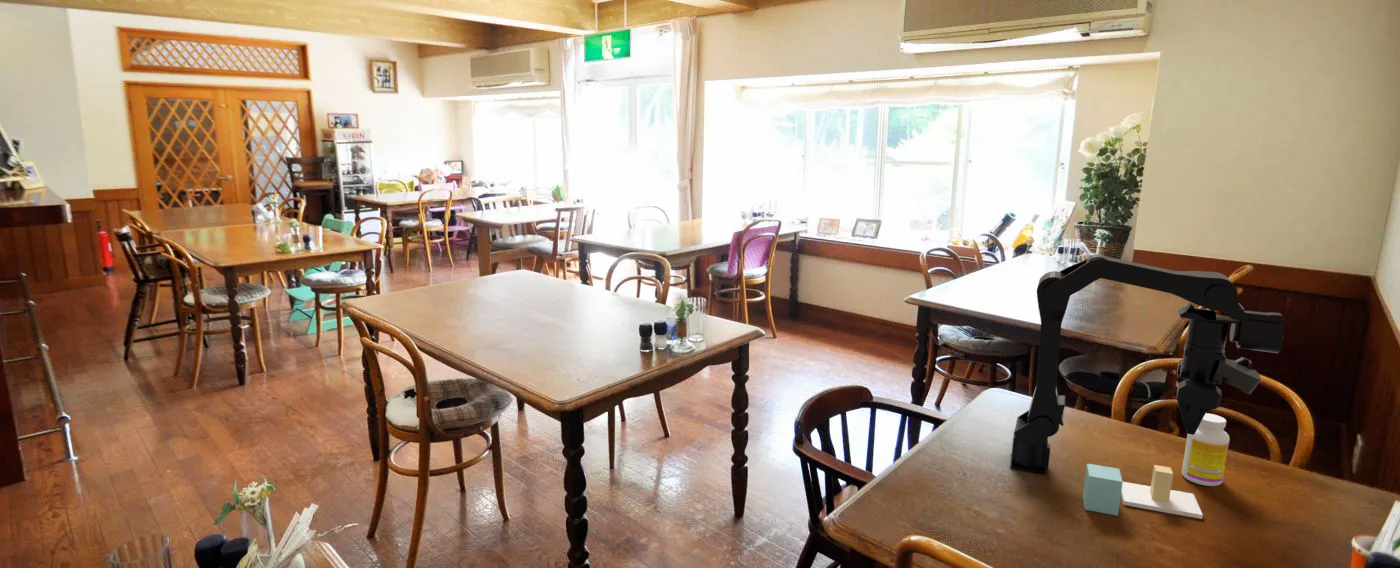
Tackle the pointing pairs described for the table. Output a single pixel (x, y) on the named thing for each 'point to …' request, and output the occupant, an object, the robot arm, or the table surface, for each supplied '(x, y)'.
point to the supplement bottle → (1206, 452)
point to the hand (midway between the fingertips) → (1190, 425)
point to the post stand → (1161, 495)
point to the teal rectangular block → (1102, 489)
